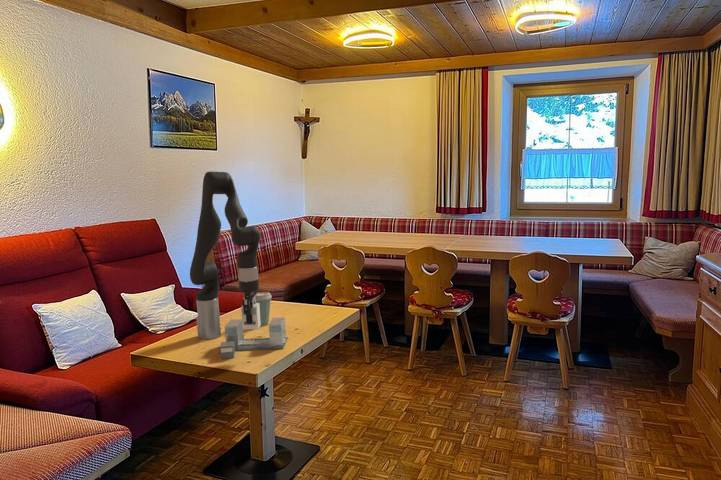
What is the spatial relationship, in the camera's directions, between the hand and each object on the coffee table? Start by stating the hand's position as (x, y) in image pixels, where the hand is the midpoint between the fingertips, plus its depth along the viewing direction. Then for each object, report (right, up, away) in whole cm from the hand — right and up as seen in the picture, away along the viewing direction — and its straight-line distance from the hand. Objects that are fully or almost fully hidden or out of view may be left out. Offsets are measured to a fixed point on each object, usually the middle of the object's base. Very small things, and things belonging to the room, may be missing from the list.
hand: (251, 321), depth 208 cm
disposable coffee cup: (-4, -9, +47) cm, 48 cm away
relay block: (-10, -15, +4) cm, 18 cm away
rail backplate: (-1, -12, +16) cm, 20 cm away
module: (0, -2, +1) cm, 3 cm away
